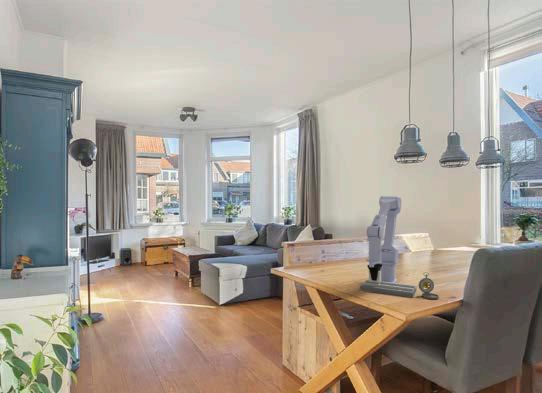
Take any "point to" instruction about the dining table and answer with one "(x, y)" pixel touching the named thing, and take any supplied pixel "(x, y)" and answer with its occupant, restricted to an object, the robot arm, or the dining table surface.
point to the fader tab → (377, 278)
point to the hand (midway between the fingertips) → (374, 279)
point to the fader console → (389, 288)
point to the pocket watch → (425, 283)
